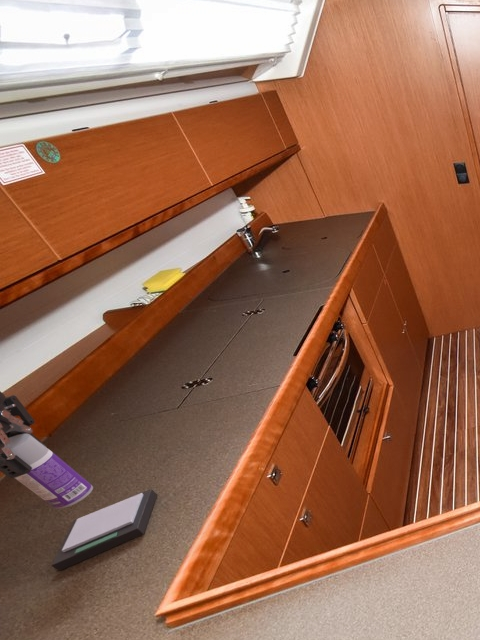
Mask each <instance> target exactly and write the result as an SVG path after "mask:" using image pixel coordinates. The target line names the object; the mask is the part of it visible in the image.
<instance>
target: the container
mask: <svg viewBox="0 0 480 640" xmlns="http://www.w3.org/2000/svg"><path fill="white" fill-rule="evenodd" d="M9 440H10V441H11V443H10V444H9V445H8V447H9V448H10V449H11V451H12V452H13V453H14V455H17V456H18V457H19V458H21V459H22V460H23V461H24V462H26V463H27V464H28V465H30V466H31V467H32V469H31V471H30V472H29V473H27V474H24V475H21V476H18V477H16V478H14V479H15V480H16V481H18V482H19V483H21V484H22V485H23V486H24V487H26V488H27V489H28V490H30V491H32V493H34V494H35V495H36V496H38V497H39V498H40V499H41V500H43V501H44V502H46V503H47V504H49V505H50V506H51V507H52V508H54V509H56V510H62V509H66V508H70V507H71V506H73V505H76V504H78V503H79V502H81V501H83V500H84V499H86V498H87V496H89V495H90V494H91V493H92V491H93V490H94V486H93V485H92V484H91V483H90V482H88V481H87V480H86V478H84V477H83V476H82V475H80V474H79V472H77V471H75V469H73V468H72V467H71V466H70V465H68V464H67V463H66V462H65V461H64V460H63V459H61V457H59V456H58V455H56V453H54V452H53V451H52V450H50V449H49V448H47V446H46V447H45V446H44V445H42V444H41V443H40V442H39V441H37V440H36V439H35V438H33V437H32V436H31V435H30V434H20V435H16V436H13V437H10V438H9ZM0 455H1V454H0Z"/></svg>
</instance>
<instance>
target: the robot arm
mask: <svg viewBox="0 0 480 640" xmlns="http://www.w3.org/2000/svg"><path fill="white" fill-rule="evenodd" d="M18 417H19V418H18ZM35 423H36V421H35V419H34V418H33V416H32V415H31V414H30V413H29V411H28V410H27V409H26V407H25V406H24V405H23V403H22V402H21V401H20V400H19V398H18V397H17V396H16V395H13V394H12V395H9V396H6V395H5V394H4V393H3V392H2V391H1V390H0V454H1V455H0V473H2V474H3V475H5V476H6V477H7V478H9V479H15V478H16V477H18V476H21V475H24V474H27V473H29V472H30V471H31V469H32V467H31V466H30V465H28V464H27V463H26V462H24V461H23V460H22V459H21V458H19V457H18V456H17V455H14V453H13V452H12V451H11V449H10V448H9V447H8V445H9V444H10V443H11V441H10V440H9V438H10V437H13V436H16V435H20V434H30V435H31V436H32V437H33V438H35V439H36V440H37V441H39V442H40V443H41V444H42V445H44V446H45V447H46V448H47V445H46V444H45V443H43V442H42V440H40V439H39V437H36V435H34V434H33V432H34V430H33V428H32V427H31V426H32V425H35Z"/></svg>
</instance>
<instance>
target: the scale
mask: <svg viewBox="0 0 480 640" xmlns="http://www.w3.org/2000/svg"><path fill="white" fill-rule="evenodd" d="M157 496H158V493H156V492H155V491H154V489H152V488H150V489H148V490H145V491H142V492H141V493H138V494H135V495H132V496H130V497H128V498H126V499H123V500H120V501H118V502H116V503H113V504H109V505H108V506H104V507H103V508H100V509H98V510H96V511H93V512H91V513H88V514H86V515H83V516H80V517H79V518H76V519H73V521H72V523H71V524H70V527H69V529H68V531H67V532H66V535H65V537H64V539H63V540H62V543H61V544H60V547H59V549H58V551H57V553H56V555H55V557H54V559H53V560H52V563H51V567H52V568H54V569H55V570H57V571H58V572H60V571H62V570H64V569H67V568H70V567H71V566H74V565H76V564H78V563H81V562H83V561H85V560H87V559H90V558H92V557H94V556H97V555H99V554H101V553H104V552H106V551H108V550H110V549H112V548H115V547H118V546H120V545H122V544H125V543H126V542H130V541H131V540H133V539H135V538H138V537H140V536H143V535H145V531H146V528H147V526H148V523H149V520H150V517H151V514H152V511H153V508H154V506H155V502H156V499H157Z"/></svg>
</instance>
